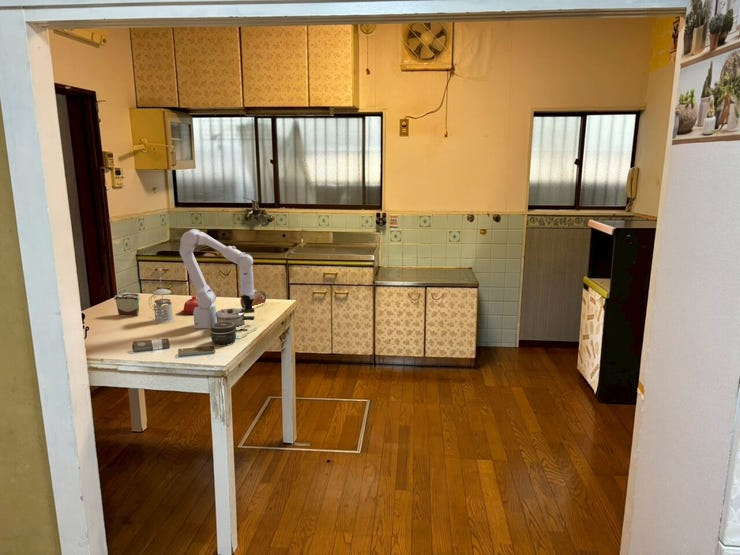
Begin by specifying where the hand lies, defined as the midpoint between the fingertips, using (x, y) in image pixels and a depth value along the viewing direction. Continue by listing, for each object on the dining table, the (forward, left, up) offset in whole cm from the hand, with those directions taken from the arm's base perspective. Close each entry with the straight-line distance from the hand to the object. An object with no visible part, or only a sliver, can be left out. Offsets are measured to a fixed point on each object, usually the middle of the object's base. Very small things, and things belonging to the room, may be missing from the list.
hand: (248, 310), depth 232 cm
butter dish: (-32, +21, -7) cm, 39 cm away
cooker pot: (-5, -4, -7) cm, 9 cm away
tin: (-4, +29, -7) cm, 30 cm away
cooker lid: (-5, -4, 0) cm, 6 cm away
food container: (-61, +17, -7) cm, 64 cm away
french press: (-42, +7, -7) cm, 43 cm away
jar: (-6, -23, -7) cm, 24 cm away
